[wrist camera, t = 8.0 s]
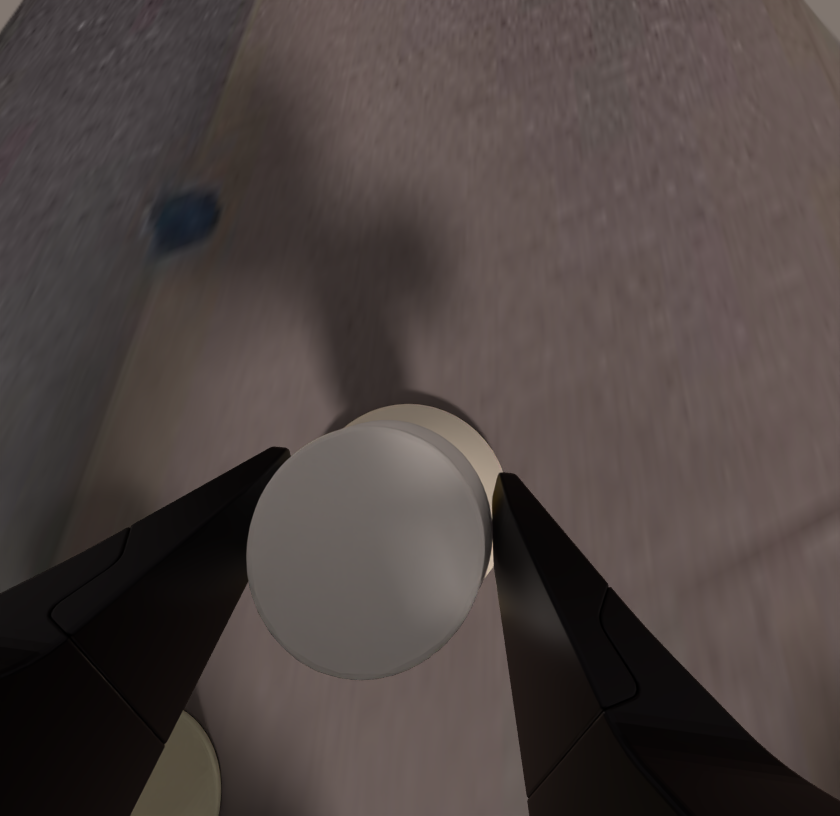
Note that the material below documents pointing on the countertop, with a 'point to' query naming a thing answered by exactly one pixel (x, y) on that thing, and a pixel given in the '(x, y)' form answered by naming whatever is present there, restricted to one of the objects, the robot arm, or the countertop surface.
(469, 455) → the coaster
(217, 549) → the robot arm
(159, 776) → the can
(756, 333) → the countertop surface
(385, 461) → the supplement bottle
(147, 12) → the countertop surface
